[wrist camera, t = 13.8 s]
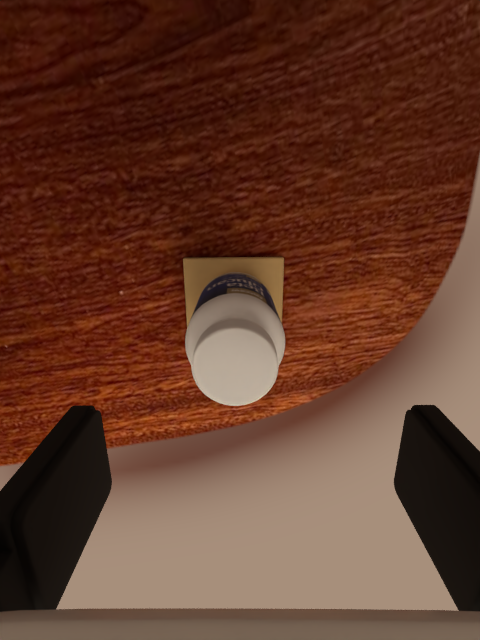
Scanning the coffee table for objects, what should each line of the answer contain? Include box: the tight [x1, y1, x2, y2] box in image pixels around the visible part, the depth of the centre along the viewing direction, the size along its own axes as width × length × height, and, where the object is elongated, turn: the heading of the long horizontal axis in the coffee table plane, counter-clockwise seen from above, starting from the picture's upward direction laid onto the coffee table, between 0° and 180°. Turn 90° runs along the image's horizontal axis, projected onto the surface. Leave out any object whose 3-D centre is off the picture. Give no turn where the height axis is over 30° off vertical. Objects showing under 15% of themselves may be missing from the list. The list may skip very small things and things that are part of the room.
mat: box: [183, 257, 284, 328], centre depth 25 cm, size 7×7×1 cm
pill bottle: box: [185, 272, 285, 406], centre depth 20 cm, size 5×5×10 cm
